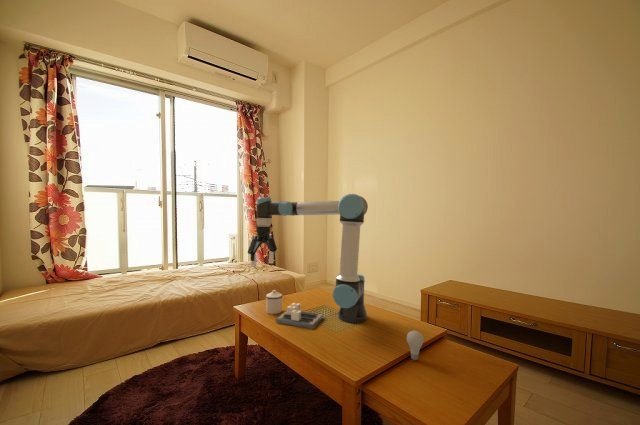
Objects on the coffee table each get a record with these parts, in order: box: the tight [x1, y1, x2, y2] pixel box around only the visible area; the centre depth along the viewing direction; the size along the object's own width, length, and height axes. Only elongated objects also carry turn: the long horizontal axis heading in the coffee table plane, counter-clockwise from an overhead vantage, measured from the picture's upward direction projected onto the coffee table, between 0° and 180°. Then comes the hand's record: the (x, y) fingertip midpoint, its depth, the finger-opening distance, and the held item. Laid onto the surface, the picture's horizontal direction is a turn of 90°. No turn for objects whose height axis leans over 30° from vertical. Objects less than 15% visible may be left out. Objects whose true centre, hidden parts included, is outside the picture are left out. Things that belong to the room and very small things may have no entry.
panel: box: [275, 310, 324, 330], centre depth 143 cm, size 20×15×3 cm
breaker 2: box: [290, 302, 301, 311], centre depth 149 cm, size 4×3×4 cm
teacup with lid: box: [265, 289, 283, 315], centre depth 155 cm, size 12×9×12 cm
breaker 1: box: [286, 305, 296, 315], centre depth 144 cm, size 4×3×4 cm
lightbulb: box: [406, 330, 425, 361], centre depth 106 cm, size 6×6×11 cm
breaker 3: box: [291, 310, 302, 321], centre depth 138 cm, size 4×3×4 cm
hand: (262, 265), depth 151 cm, fingers open, 13 cm apart
